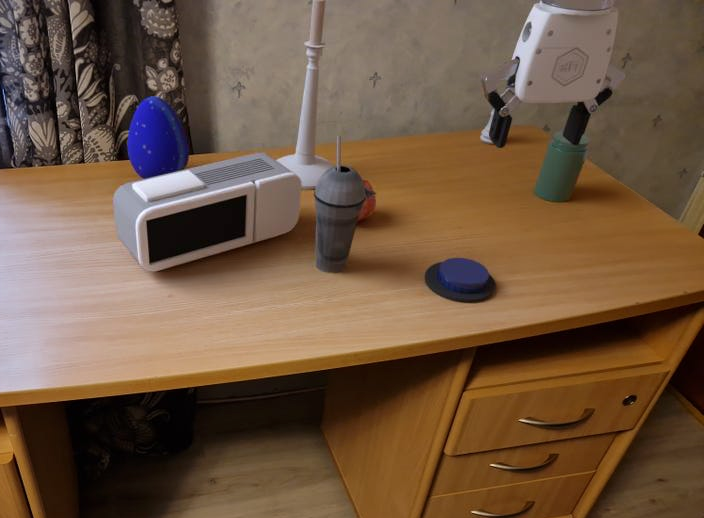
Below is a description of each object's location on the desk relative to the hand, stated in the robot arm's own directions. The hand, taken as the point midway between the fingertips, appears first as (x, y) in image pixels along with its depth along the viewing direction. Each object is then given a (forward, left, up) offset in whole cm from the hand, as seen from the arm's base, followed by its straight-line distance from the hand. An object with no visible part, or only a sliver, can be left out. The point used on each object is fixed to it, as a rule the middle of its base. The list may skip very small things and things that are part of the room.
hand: (533, 142), depth 86 cm
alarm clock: (+41, -13, -21) cm, 48 cm away
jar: (-22, -26, -21) cm, 40 cm away
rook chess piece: (-19, -50, -21) cm, 57 cm away
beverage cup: (+23, -6, -21) cm, 32 cm away
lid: (+5, 0, -19) cm, 20 cm away
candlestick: (+22, -37, -21) cm, 48 cm away
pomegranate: (+17, -20, -21) cm, 33 cm away
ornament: (+49, -36, -21) cm, 64 cm away
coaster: (+5, 0, -21) cm, 22 cm away
